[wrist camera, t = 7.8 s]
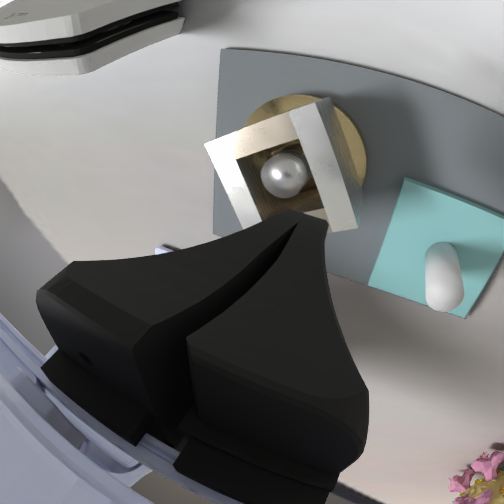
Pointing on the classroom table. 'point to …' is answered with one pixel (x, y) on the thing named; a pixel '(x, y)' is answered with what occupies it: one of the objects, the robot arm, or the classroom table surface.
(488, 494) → the educational model
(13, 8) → the hinge
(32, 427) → the robot arm
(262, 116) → the hub
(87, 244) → the classroom table surface
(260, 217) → the hollow square metal tube
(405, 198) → the stand
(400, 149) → the board
